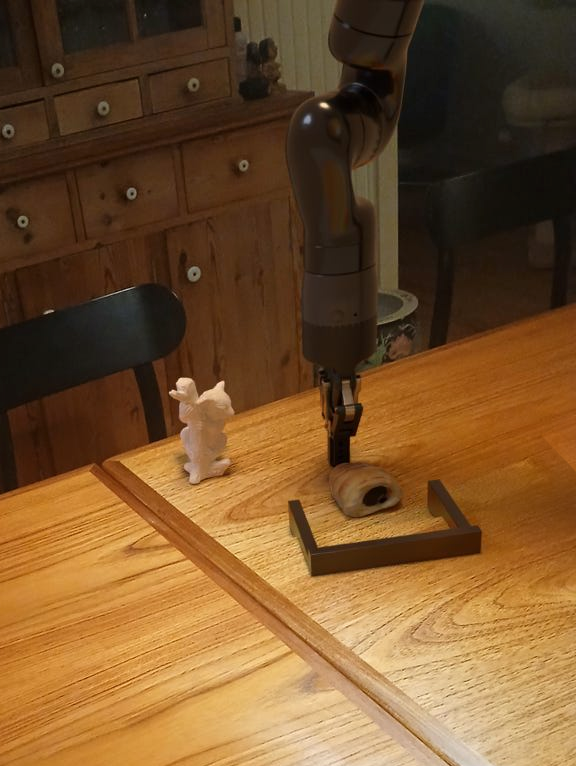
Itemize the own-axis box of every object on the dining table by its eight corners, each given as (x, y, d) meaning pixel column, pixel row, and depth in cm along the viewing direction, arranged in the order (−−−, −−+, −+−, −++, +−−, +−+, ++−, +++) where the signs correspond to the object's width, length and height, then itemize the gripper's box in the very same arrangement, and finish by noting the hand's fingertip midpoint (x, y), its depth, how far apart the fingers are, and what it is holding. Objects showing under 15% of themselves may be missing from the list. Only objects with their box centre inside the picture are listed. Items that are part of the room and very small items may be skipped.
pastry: (314, 486, 110) (313, 454, 107) (371, 472, 110) (371, 441, 108) (348, 522, 102) (348, 488, 100) (410, 507, 102) (411, 474, 100)
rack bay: (438, 504, 102) (439, 469, 100) (479, 568, 91) (482, 530, 89) (289, 526, 103) (287, 491, 101) (312, 591, 92) (310, 555, 90)
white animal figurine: (197, 493, 113) (185, 393, 106) (160, 477, 118) (147, 381, 111) (251, 466, 116) (243, 368, 110) (214, 452, 121) (204, 357, 115)
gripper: (392, 326, 94) (386, 487, 104) (362, 285, 105) (360, 435, 115) (313, 336, 95) (314, 495, 105) (292, 295, 106) (295, 443, 116)
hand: (338, 463), depth 110 cm, fingers closed
